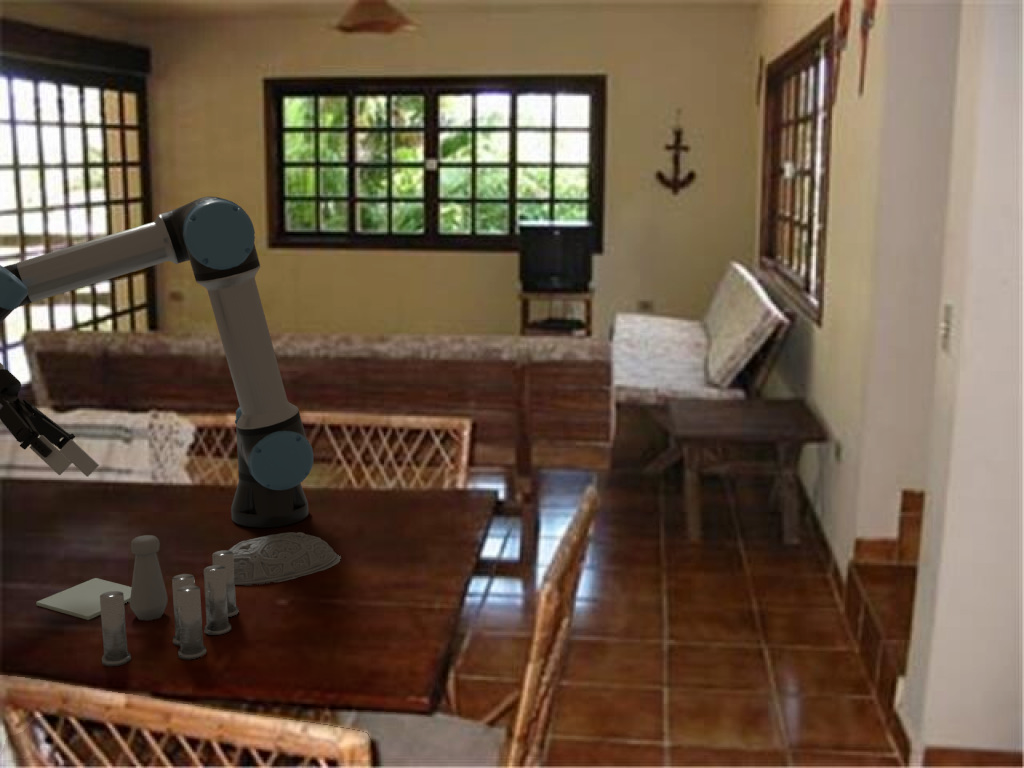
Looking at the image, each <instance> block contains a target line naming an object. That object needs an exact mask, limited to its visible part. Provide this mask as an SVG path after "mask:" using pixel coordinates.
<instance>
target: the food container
mask: <svg viewBox="0 0 1024 768" xmlns="http://www.w3.org/2000/svg"><path fill="white" fill-rule="evenodd" d="M227 551H232V552H233V558H234V577H235V585H245V586H253V585H252V584H257V585H258V584H259V585H266V584H271V583H270V582H274V583H281V582H287V581H289V580H295V579H297V578H299V577H303V576H308V575H311V574H314V573H318V572H321V571H325V570H328V569H329V568H332V567H333V566H335V565H338V564H339V562H340V561H341V560H342V556H341V555H340V556H339V554H337V553H336V552H335V551H334V548H333V547H331V546H330V544H328V542H327V541H325V540H324V539H321V537H318V536H314V535H310V534H305V533H304V532H301V531H299V532H298V531H297V532H294V531H293V532H290V531H289V532H281V533H277V534H269V535H266V536H265V535H264V536H259V537H255V538H250V539H247V540H245V539H244V540H242V541H240V542H238V543H237V544H235V545H233V546H232V547H230V548H229V549H228V550H227ZM340 559H341V560H340ZM265 583H266V584H265ZM257 585H256V586H257Z"/></svg>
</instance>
